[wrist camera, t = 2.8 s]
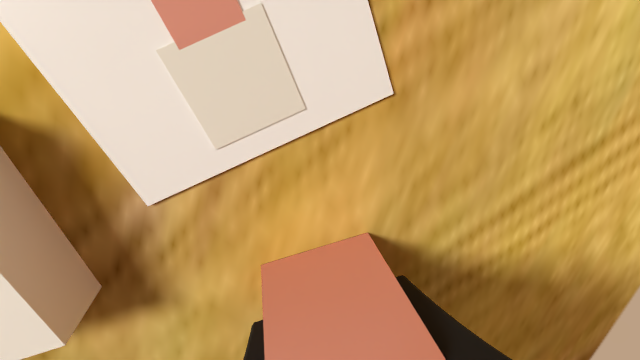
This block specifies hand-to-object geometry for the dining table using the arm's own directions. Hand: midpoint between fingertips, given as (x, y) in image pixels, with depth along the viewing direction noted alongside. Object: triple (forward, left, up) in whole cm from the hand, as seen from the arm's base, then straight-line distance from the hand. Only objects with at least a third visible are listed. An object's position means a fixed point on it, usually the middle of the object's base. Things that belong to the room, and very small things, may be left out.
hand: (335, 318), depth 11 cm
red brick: (0, 0, -1) cm, 1 cm away
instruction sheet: (+9, +1, -1) cm, 9 cm away
